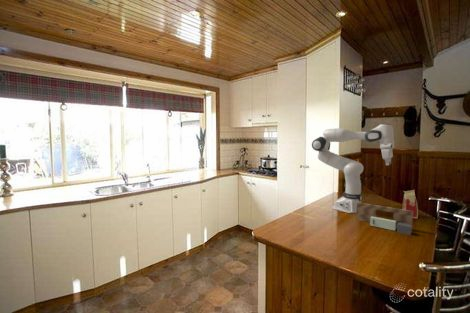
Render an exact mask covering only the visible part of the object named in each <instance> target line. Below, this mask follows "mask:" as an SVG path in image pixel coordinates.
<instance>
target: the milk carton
mask: <svg viewBox="0 0 470 313" xmlns="http://www.w3.org/2000/svg"><path fill="white" fill-rule="evenodd" d="M402 192H403V193H404V194H403V200H402V208H401V209H404V210H410V211H413V219H418V217H419V215H418V214H419V210H418V209H419V208H418V201H417V198H416V194H415V189H412V190H406V191H405V190H403V191H402Z"/></svg>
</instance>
